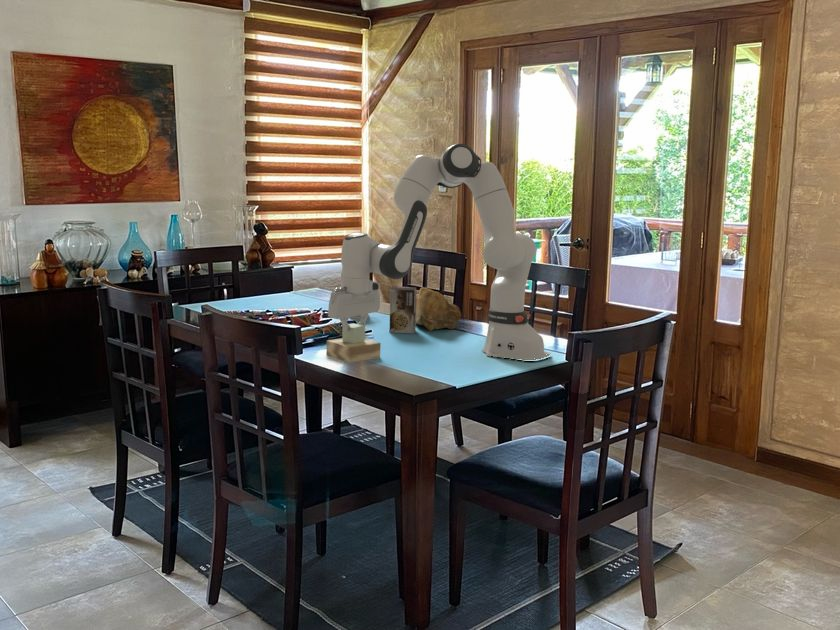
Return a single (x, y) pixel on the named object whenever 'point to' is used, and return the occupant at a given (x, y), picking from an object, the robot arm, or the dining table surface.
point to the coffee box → (402, 309)
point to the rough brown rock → (435, 310)
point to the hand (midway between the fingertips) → (354, 329)
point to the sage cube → (354, 334)
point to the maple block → (353, 350)
